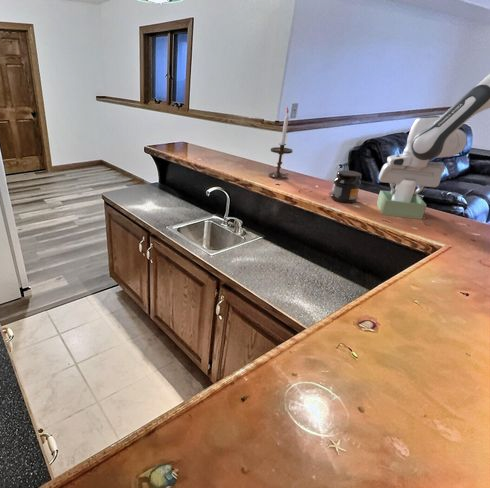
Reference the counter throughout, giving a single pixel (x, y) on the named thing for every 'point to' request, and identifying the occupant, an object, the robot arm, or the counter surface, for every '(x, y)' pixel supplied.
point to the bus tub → (400, 206)
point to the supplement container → (346, 186)
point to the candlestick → (281, 150)
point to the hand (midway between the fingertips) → (403, 195)
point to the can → (404, 191)
